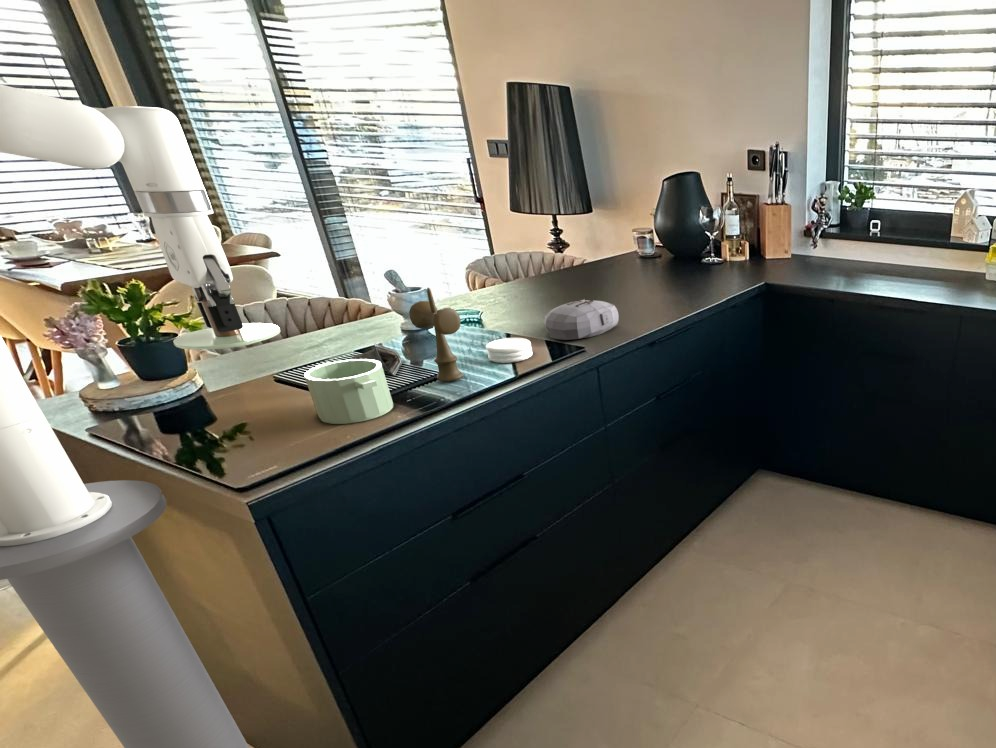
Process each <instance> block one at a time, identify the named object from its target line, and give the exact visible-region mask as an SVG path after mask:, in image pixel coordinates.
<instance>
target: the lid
mask: <svg viewBox="0 0 996 748" xmlns="http://www.w3.org/2000/svg"><path fill="white" fill-rule="evenodd" d="M201 303H202V305H203V308H204V310H205V313H206V315H207V317H208V320H209V322H210V325H211V327H212V328H209V327H207V328H201V329H198V330H193V331H190V332H187V333H184V334H182V335H179V336H177V337H176V338H174V339H173V341H172V343H173V346H175V347H176V348H178V349H181V350H192V351H193V350H197V351H203V350H205V351H207V350H210V351H211V350H225V349H234V348H239V347H245V346H249V345H253V344H256V343H259V342H263V341H266V340H269V339H272V338H274V337H276V336H278V335H279V334H280V333H281V331H282V330H281V328H280V327H279V326H278V324H277V325H276V324H273V323H264V322H263V323H262V322H249V323H248V322H247V323H242V324H243V328H242V329H238V330H233V331H227V332H218V331H217V329H216V327H215V324H214V322H213V320H212V317H211V315H210V312H209V310H208V307H209V306H210V305H209V303H208V301H207V299H204V300H201Z"/></svg>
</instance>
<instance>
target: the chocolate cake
mask: <svg viewBox="0 0 996 748" xmlns="http://www.w3.org/2000/svg"><path fill="white" fill-rule="evenodd" d="M373 345H374V348H373V349H371V350H368V351H364V352H362V353H359V354H356V355H354V356H353V355H352V357H351V360H353V359H368V360H376V361H379V362H381V364H382V368H383V371H384V372H386V373H387V374H388V375H393V376H396V374H397V372H398V371H399V369H400V367H401V365H402V364H403V360H402V357H401V356H400V354H399V352H398V351H397V350H396V349H394V348H390V347H387V346H385V345H381V344H379V343H376V342H374V343H373Z"/></svg>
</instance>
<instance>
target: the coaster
mask: <svg viewBox="0 0 996 748" xmlns="http://www.w3.org/2000/svg"><path fill="white" fill-rule="evenodd" d="M485 349H486V354H487V358H488V360H489V361H491V362H493V363H498V364H509V363H510V364H512V363H519V362H522V361H526V360H528V359H530V358H531V357H532V356H533V348H532V343H531V341H530V339H527V338H525V337H524V338H523V337H504V338H498V339H495V340H492V341H489V342H488V343H487V344H486V345H485Z"/></svg>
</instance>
